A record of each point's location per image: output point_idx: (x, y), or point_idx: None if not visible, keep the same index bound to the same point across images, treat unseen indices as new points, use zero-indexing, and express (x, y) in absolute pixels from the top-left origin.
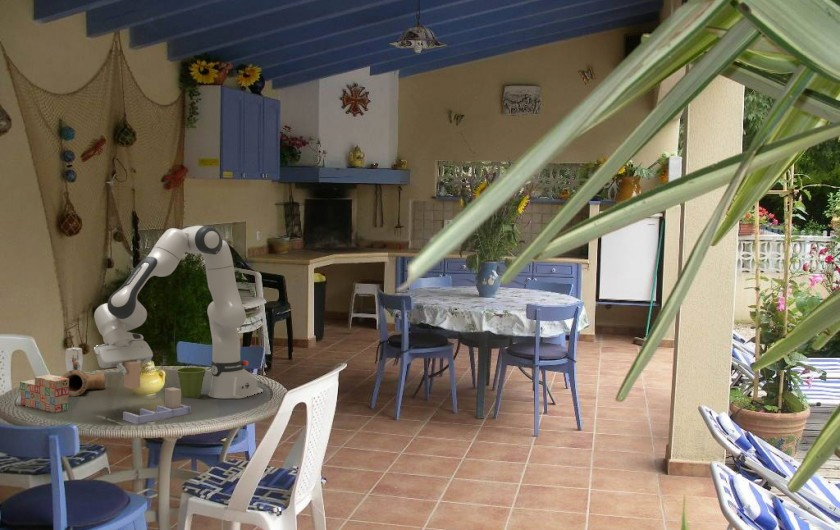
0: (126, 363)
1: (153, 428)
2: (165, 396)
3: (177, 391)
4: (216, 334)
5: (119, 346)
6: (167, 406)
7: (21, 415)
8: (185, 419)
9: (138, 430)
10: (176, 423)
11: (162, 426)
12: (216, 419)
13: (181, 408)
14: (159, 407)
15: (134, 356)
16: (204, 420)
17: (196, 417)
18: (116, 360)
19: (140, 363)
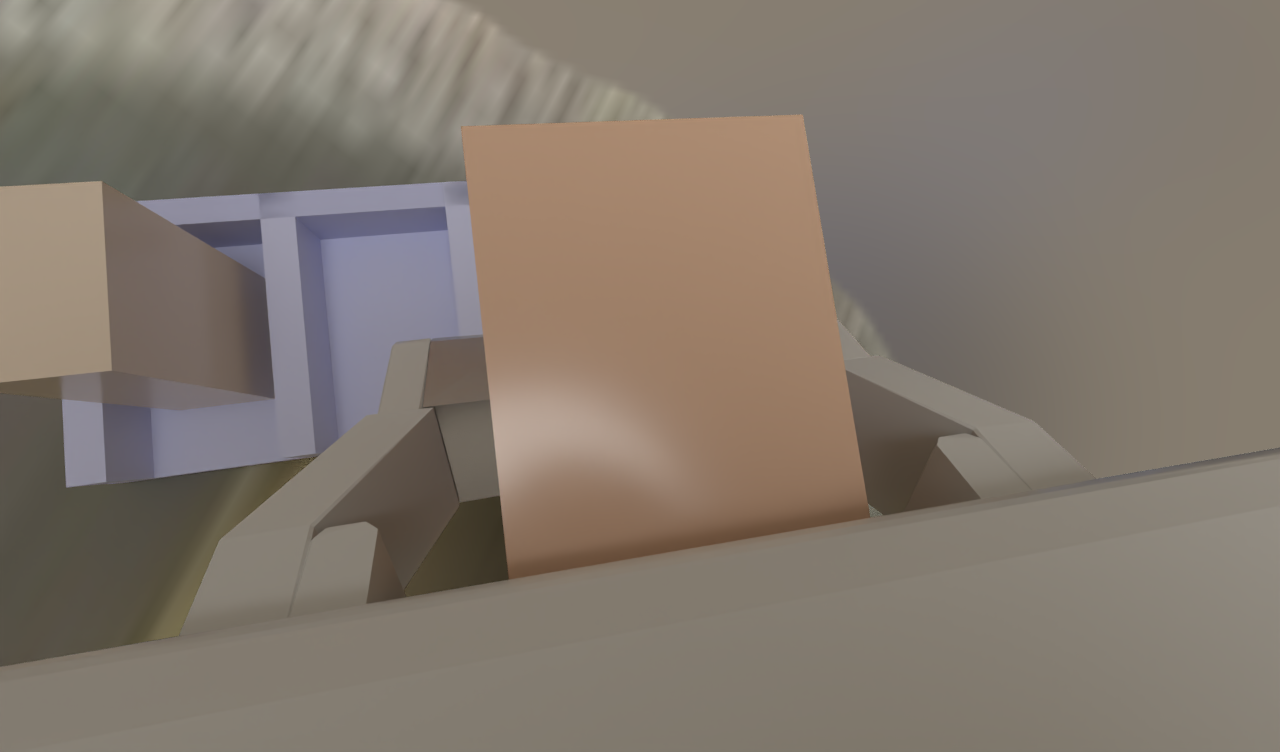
0: (837, 412)
1: (558, 96)
2: (181, 372)
3: (29, 196)
4: None
5: None
6: (239, 348)
7: None
8: (221, 170)
9: (663, 117)
10: (351, 109)
11: (480, 102)
12: (4, 3)
13: (167, 199)
14: (312, 392)
15: (410, 704)
16: (110, 42)
17: (103, 169)
18: (1272, 468)
19: (290, 486)
